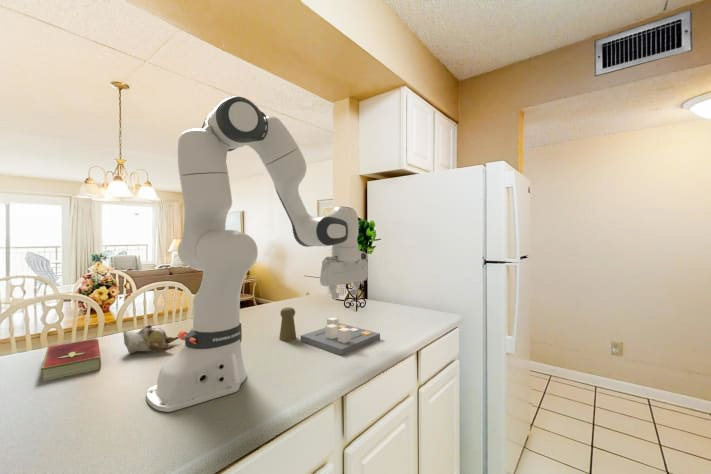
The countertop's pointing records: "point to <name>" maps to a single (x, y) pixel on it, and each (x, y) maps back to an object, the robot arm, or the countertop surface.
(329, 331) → the switch middle
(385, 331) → the countertop surface
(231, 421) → the countertop surface
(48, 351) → the hardcover book
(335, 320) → the switch left
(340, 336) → the cream slider knob
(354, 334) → the switch panel
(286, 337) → the cork
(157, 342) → the ceramic sculpture
